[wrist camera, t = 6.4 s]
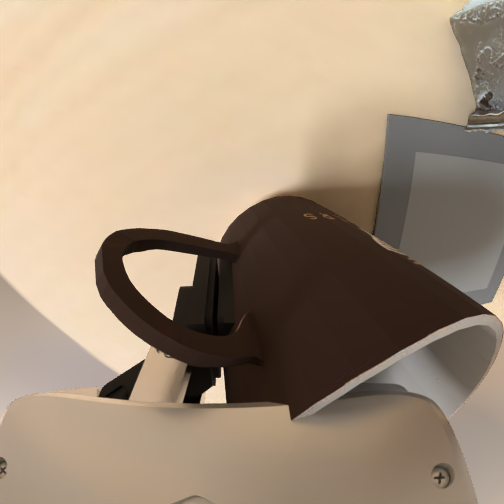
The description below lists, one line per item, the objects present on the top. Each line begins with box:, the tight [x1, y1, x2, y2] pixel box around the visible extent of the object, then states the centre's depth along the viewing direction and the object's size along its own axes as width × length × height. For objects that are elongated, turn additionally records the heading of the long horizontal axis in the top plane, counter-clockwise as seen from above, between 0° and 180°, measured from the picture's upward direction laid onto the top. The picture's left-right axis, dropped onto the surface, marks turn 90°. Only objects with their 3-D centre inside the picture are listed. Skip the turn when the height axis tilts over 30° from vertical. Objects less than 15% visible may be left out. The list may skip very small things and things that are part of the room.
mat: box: [373, 114, 504, 305], centre depth 16 cm, size 13×13×1 cm
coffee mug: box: [95, 196, 503, 420], centre depth 10 cm, size 12×9×10 cm
